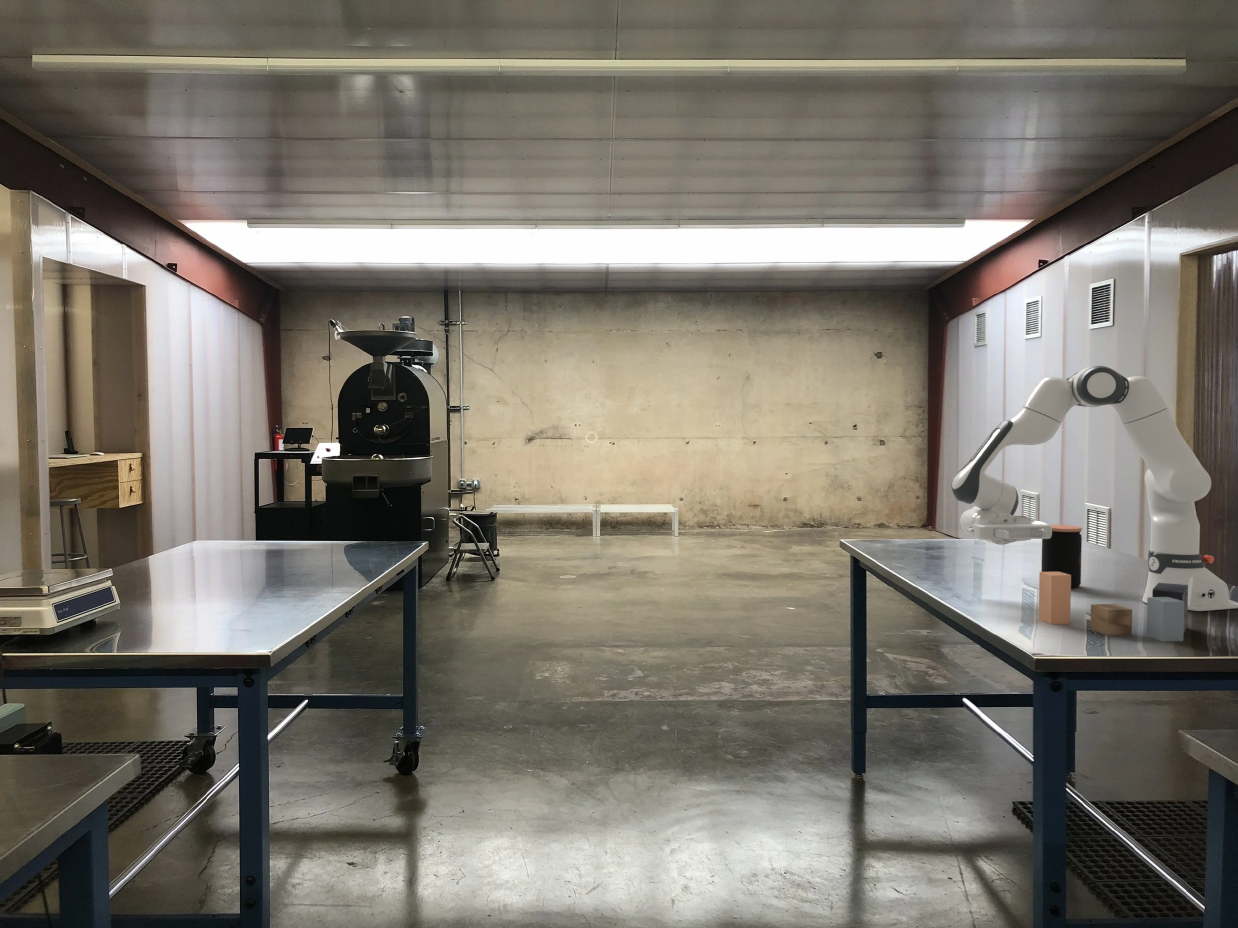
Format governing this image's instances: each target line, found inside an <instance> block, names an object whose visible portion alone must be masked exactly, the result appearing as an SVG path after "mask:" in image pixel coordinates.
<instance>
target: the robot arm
mask: <svg viewBox="0 0 1238 928" xmlns="http://www.w3.org/2000/svg"><path fill="white" fill-rule="evenodd" d="M1107 405H1110V406H1111V407H1113V408H1114V409H1115V410H1116V412H1117V413H1118V415H1119V417H1120V420H1121V422H1122V424H1123V427H1124V429H1125V430H1126V433H1127V435H1128V437H1129V439H1130V441H1131V444H1132V445H1133V447H1134V450H1135V451H1136V452H1137V453H1138V454H1139V456H1140V457H1141V459H1142V460H1143V461H1144V463H1145V465H1146V466H1147V468H1148V469H1147V470H1146V471H1145V474H1144V484H1145V488H1146V495H1147V496H1146V497H1147V505H1148V511H1149V518H1150V519H1149V520H1150V541H1149V542H1150V545H1149V546H1150V547H1149V550H1148V552H1147V553H1148V554H1147V555H1148V556H1147V564H1148V576H1147V580H1146V581H1147V582H1146V586H1145V590H1144V594H1143V597H1142V598H1141V601H1142V602H1143V603H1146V604H1147V597H1152V591H1153V588H1154V587H1155V586H1156V585H1157V584H1158V583H1169V584H1183V585H1188V606H1187V607H1188V611H1193V612H1205V611H1206V612H1207V611H1217V610H1218V611H1219V610H1228V609H1229V610H1231V609H1238V602H1237V601H1234V600H1232V599H1231V600H1230V592H1229V587H1228V585H1227V583H1226V582H1225V581H1224V580H1223V579H1221V578H1219V577H1218V576H1217V575H1215V574H1214V573H1213V572H1212V571H1210V570H1209V569H1208V568H1206V564H1205V563H1208V564H1213V563H1214V561H1215V557H1214V556H1212V555H1208V554H1205V555H1202V554H1201V552H1200V541H1201V539H1200V538H1201V537H1200V535H1201V534H1200V533H1201V525H1200V522H1199V518H1198V515H1197V511H1196V505H1195V502H1197V501H1199V500H1202V499H1203V498H1204V497H1206V496H1207V495H1208V493H1209V492H1210V490H1211V488H1212V480H1211V479H1212V478H1211V476H1210V474H1209V473H1208V472H1207V470H1206V469H1205V468H1204V466H1202V464H1201V462H1200V460H1199V459H1198V458H1197V456H1196V455H1195V453H1194V452H1193V450H1192V448H1191V447H1190V445H1189V444H1188V443H1187V441H1186V440H1185V439H1184V437H1183V435H1182V434H1181V432H1180V430H1179V428H1178V426H1177V424H1176V422H1175V420H1174V417H1173V416H1172V414H1171V411H1170V410H1169V407H1168V406H1167V404H1166V401H1165V400H1164V398H1163V397H1162V395H1161V393H1160V391H1159V390H1158V388H1157V387H1156V386H1155V384H1154V383H1153V382H1152V380H1150V378H1148V377H1146V376H1142V375H1133V376H1128V377H1125V376H1123V374H1120V373H1119V372H1117V371H1116V370H1115V369H1112V368H1110V367H1109V366H1104V365H1095V366H1087V367H1085V368H1083V369H1081V370H1079V371H1077V372H1075V373H1074V374H1073V375H1071V376H1070V377H1067V378H1066V379H1063V378H1061V377H1056V376H1047V377H1044V378H1042V379H1041V380H1040V381H1039V382H1038V383H1037V384H1036V385H1035V386H1034V388H1033V390H1032V391H1031V392H1030V393H1029V395H1028V397H1027V398H1026V399H1025V401H1024V403H1023V404H1022V407H1021V408H1020V409H1019V411H1018V412H1016V414H1015V415H1014V416H1013V417H1012V418H1010V419H1009V420H1003V421H1001V422H1000V423H999V424H998V425H997V426H996V427H995V428H994V429H993V430H992V431H991V433H989V435H988V436H987V438H985V440H984V441H983V442H982V444H981V445H980V447H979V448H978V449H977V450H976V451H975V453H974V454H973V455H972V457H971V458H970V459H969V461H968V462H967V463H966V464H965V465H964V466H963V467H961V469H960V470H959V471H957V473H956V474H955V476H954V477H953V479H952V482H951V486H950V487H951V492H952V494H953V496H954V498H955V499H956V500H957V501H959V502H961V503H965V504H968V505H972V506H973V507H972V508H969V509H967V510H965V511H963V513H962V514H961V516H960V519H959V523H960V526H961V529H962V531H964V533H965V534H966V535H968V536H970V537H972V538H973V539H977V540H979V541H986V542H987V543H991V544H995V545H999V546H1004V545H1009V544H1011V543H1015V542H1023V541H1031V540H1036V539H1037V540H1038V539H1039V540H1042V539H1049V538H1051V536H1052V527H1051V525H1052V524H1049V523H1046V522H1042V521H1039V520H1035V519H1032V517H1030V516H1024V515H1015V513H1016V511H1017V508H1018V505H1019V494H1018V490H1017V488H1016V486H1015V485H1011V484H1010V483H1007V482H1005V481H1003V480H1001V479H998V478H996V477H994V476H991V475H989V474H986V473H985V472H986V470H987V469H988V467H990V465H992V463H993V462H994V461H995V459H996V457H997V456H998V455H999V453H1001V451H1002V450H1003V449H1005V448H1007V447H1009V446H1015V445H1016V446H1017V445H1019V446H1020V445H1021V446H1037V445H1041V444H1045V443H1047V442H1048V441H1050V440H1051V439H1053V437H1054V436H1055V435H1056V433H1057V432H1058V430H1059V428H1060V426H1061V425H1062V422H1063V421H1064V419H1065V418H1066V415H1067V414H1068V413H1069V412H1070V410H1071V409H1072V408H1074V407H1075V406H1077V407H1078V406H1079V407H1083V408H1085V407H1086V408H1087V407H1088V408H1097V407H1098V408H1099V407H1101V406H1107Z"/></svg>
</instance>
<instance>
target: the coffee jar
mask: <svg viewBox="0 0 1238 928" xmlns="http://www.w3.org/2000/svg"><path fill="white" fill-rule="evenodd" d="M1050 525H1051V527H1052V536H1051V538H1049V539H1041V571H1040V572H1062V573H1065V574H1069V575H1071V590H1072V589H1077V588H1079V587H1080V585H1081V583H1082V549H1083V548H1082V542H1083V541H1082V539H1083V538H1082V534H1081V532H1082V529H1083V528H1082V527H1081V526H1078V525H1077V526H1076V525H1070V524H1069V525H1068V524H1050Z"/></svg>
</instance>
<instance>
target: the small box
mask: <svg viewBox="0 0 1238 928" xmlns="http://www.w3.org/2000/svg"><path fill="white" fill-rule="evenodd" d="M1152 597H1170V598H1174V599H1177V600H1181V601H1184V634H1185V633H1186V631H1187V629H1188V628H1189V626H1188V625H1189V624H1188V621H1189V620H1188V618H1189V617H1188V615H1189V614H1188V611H1189V610H1188V607H1187V606H1188V585H1183V584H1169V583H1158V584H1157V585H1156V586H1155V587H1154V588H1153V591H1152Z"/></svg>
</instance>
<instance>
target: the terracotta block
mask: <svg viewBox="0 0 1238 928" xmlns="http://www.w3.org/2000/svg"><path fill="white" fill-rule="evenodd" d="M1038 585H1039V591H1038V594H1039V595H1038V620H1039V621H1042V622H1044V623H1047V624H1050V625H1061V624H1062V625H1065V624H1066V625H1068V624H1069V625H1070V624H1071V604H1072V603H1071V600H1072V599H1071V594H1072V589H1071V575H1069V574H1065V573H1062V572H1041V571H1039V584H1038Z"/></svg>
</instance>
